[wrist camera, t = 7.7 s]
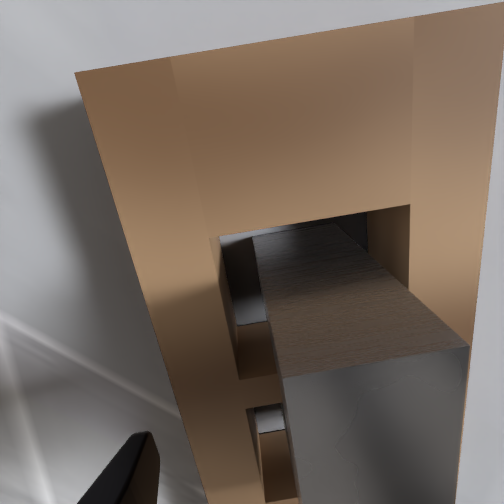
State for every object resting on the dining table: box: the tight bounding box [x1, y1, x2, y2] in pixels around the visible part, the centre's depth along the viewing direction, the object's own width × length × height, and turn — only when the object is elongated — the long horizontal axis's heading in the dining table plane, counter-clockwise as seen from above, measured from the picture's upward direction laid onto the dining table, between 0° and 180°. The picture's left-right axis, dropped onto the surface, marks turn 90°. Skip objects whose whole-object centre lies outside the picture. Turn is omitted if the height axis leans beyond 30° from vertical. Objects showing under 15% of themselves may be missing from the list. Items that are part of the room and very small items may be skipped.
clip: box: [252, 223, 470, 504], centre depth 8 cm, size 7×2×6 cm, turn 9°
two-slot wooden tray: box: [74, 2, 504, 504], centre depth 10 cm, size 16×8×2 cm, turn 9°
